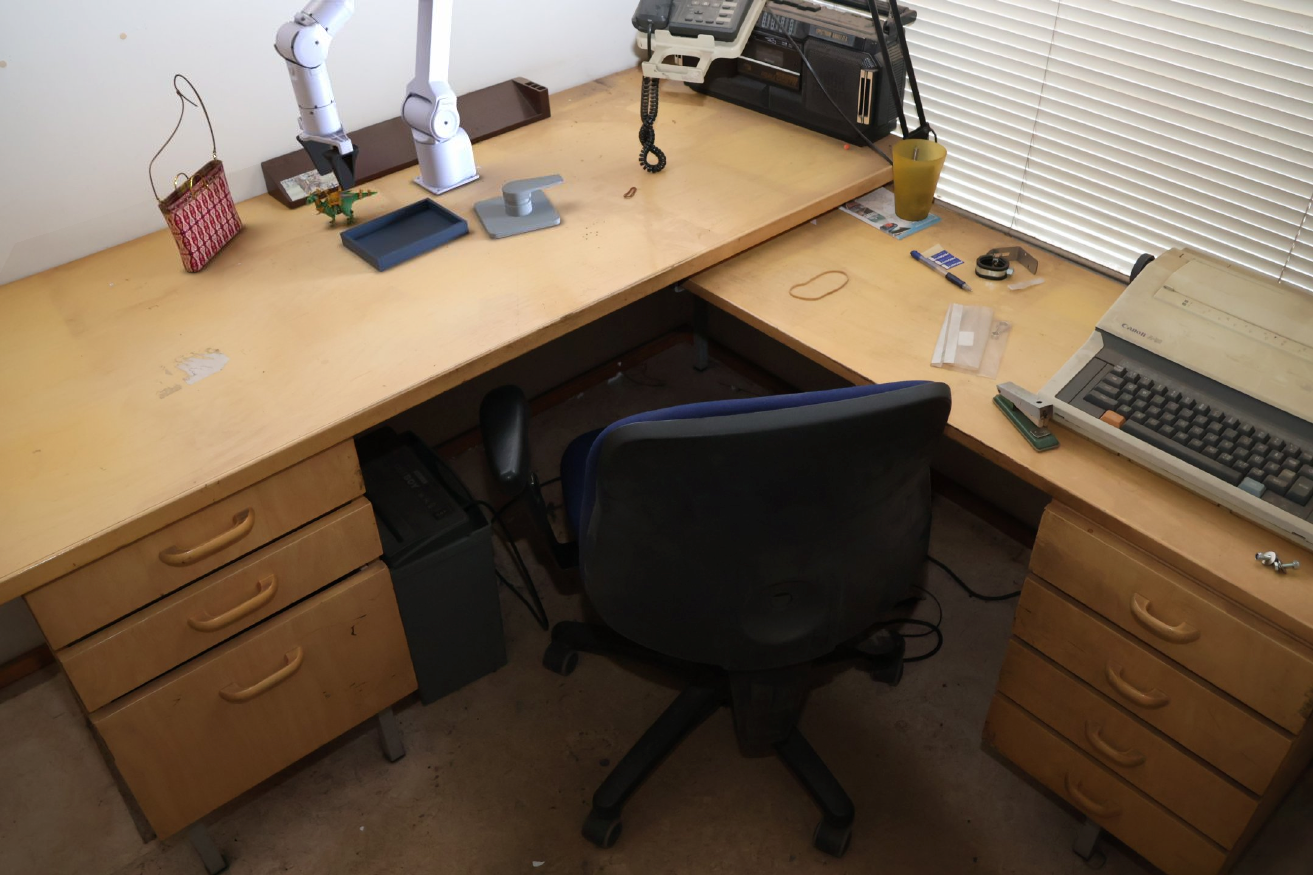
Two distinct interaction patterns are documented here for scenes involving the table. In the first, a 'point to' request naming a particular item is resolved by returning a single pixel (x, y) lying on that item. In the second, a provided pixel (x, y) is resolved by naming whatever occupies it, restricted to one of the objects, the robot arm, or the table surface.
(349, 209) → the figurine
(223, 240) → the handbag
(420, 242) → the tray
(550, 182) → the shower valve
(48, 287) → the table surface
